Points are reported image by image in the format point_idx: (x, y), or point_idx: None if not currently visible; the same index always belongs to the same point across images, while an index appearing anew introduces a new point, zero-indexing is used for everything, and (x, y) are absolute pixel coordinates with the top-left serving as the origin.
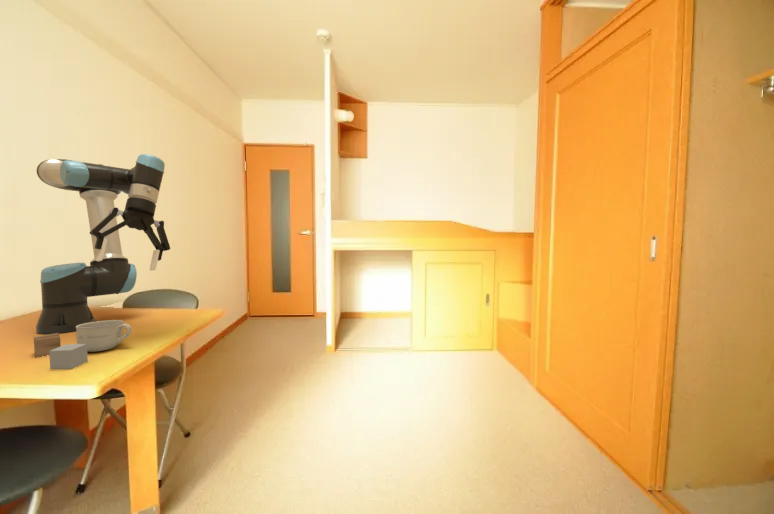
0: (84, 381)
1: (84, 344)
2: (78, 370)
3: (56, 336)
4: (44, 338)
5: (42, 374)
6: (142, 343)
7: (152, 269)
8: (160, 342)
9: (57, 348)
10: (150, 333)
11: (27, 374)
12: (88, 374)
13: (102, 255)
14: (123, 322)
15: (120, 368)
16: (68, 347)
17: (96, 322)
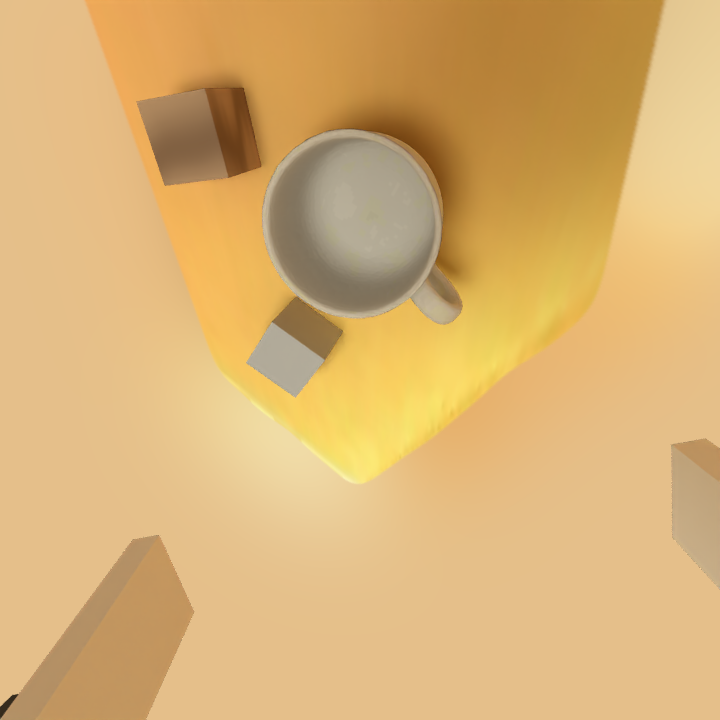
0: (344, 460)
1: (319, 362)
2: (328, 387)
3: (215, 165)
4: (185, 172)
5: None
6: (511, 238)
7: (676, 514)
8: (571, 276)
9: (259, 353)
10: (606, 40)
11: (233, 333)
12: (349, 428)
13: (164, 663)
14: (437, 253)
15: (409, 441)
16: (284, 363)
17: (331, 138)
